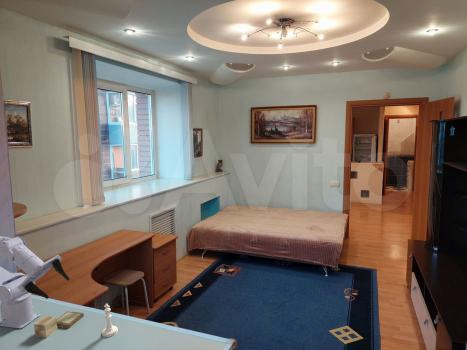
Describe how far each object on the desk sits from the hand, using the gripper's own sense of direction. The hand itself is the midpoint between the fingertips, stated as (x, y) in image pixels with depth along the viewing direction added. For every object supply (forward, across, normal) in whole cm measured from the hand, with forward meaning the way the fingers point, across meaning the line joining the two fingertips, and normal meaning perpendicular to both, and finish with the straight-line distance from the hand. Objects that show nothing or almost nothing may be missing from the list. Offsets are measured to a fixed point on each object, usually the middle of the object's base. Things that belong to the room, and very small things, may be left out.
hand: (58, 287), depth 104 cm
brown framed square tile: (+6, -3, +15) cm, 16 cm away
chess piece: (+22, +1, +6) cm, 23 cm away
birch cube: (+4, -10, +12) cm, 17 cm away
